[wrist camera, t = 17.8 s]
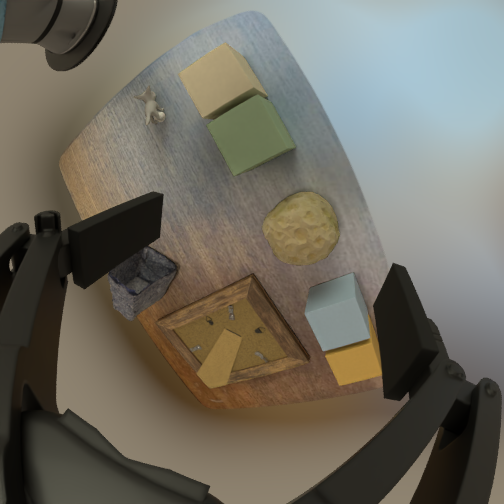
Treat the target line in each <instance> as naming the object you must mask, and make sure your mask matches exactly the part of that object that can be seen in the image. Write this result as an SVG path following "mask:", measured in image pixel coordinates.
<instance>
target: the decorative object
mask: <svg viewBox="0 0 504 504" xmlns="http://www.w3.org/2000/svg"><path fill="white" fill-rule="evenodd" d="M262 228H263V230H262V231H263V233H264V235H265V239H267V240H268V243H269V245H270V246H271V248H272V250H273V253H274V255H275V256H276V257H277V258H278V259H279V260H280V261H282V262H284V263H289V264H292V265H300V266H301V265H310V264H314V263H316V262H318V261H319V260H322V259H325V258H326V257H328V255H329V253H330V252H331V251H332V250H333V249H334V247H335V245H336V244H337V242H338V239H339V236H340V234H339V229H338V221H337V218H336V215H335V213H334V211H333V208H332V206H331V205H330V204H329V203H328V201H327V200H325V199H324V198H322V197H321V196H320V195H318V194H315V193H314V192H299V193H297V194H294V195H292V196H289V197H287V198H286V199H284V200H283V201H281V202H280V203H279V204H278V205H276V207H275V208H274V209H273V210H272V211H271V212H269V213H268V214H267V217H265V220H264V222H263V226H262Z"/></svg>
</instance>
